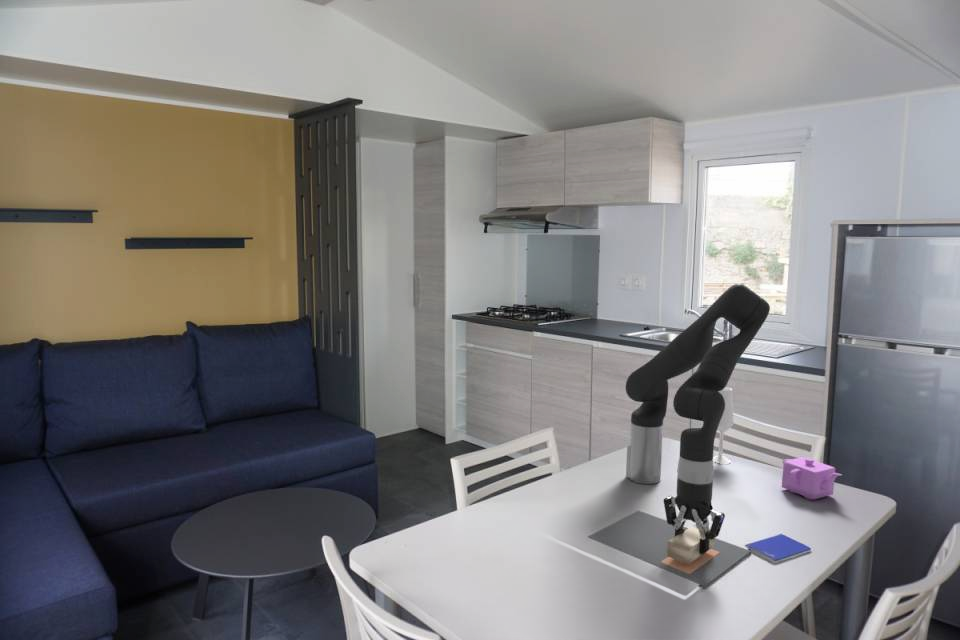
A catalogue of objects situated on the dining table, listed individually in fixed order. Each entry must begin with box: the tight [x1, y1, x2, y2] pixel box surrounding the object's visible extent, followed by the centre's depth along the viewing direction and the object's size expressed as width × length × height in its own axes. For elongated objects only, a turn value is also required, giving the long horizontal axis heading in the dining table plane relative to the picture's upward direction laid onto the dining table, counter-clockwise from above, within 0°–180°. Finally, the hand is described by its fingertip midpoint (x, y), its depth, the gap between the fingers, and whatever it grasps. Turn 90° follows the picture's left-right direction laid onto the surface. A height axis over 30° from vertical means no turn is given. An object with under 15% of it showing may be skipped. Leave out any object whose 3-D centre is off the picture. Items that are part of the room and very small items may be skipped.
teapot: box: [781, 456, 843, 501], centre depth 183 cm, size 18×14×10 cm
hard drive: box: [744, 533, 812, 564], centre depth 152 cm, size 2×8×12 cm
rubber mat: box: [587, 510, 752, 589], centre depth 153 cm, size 30×22×1 cm
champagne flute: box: [713, 386, 734, 465], centre depth 209 cm, size 7×7×24 cm
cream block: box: [667, 524, 716, 564], centre depth 146 cm, size 12×5×4 cm, turn 134°
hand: (691, 548), depth 146 cm, fingers closed on cream block, 5 cm apart
